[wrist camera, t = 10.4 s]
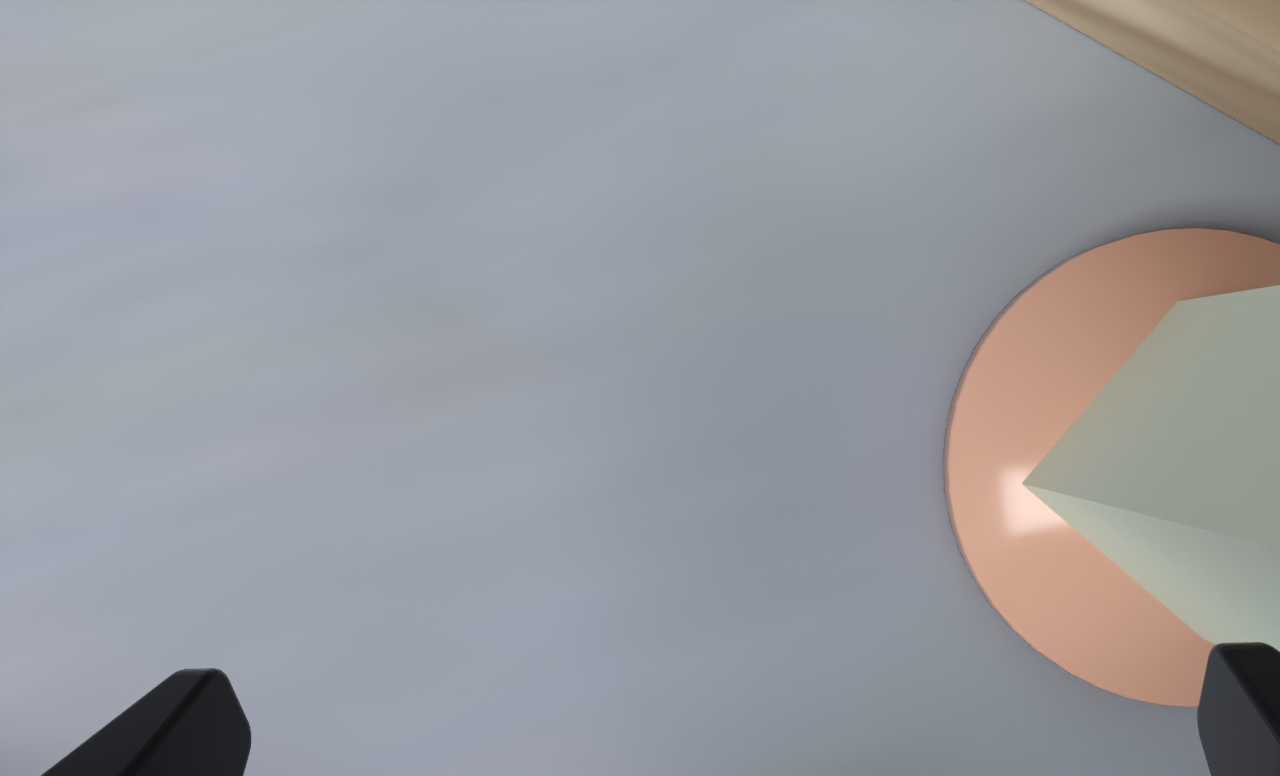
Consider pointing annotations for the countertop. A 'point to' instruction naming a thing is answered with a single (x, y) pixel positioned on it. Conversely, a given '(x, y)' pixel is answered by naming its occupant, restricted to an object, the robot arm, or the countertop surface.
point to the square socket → (1194, 48)
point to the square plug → (1186, 466)
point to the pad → (1038, 417)
